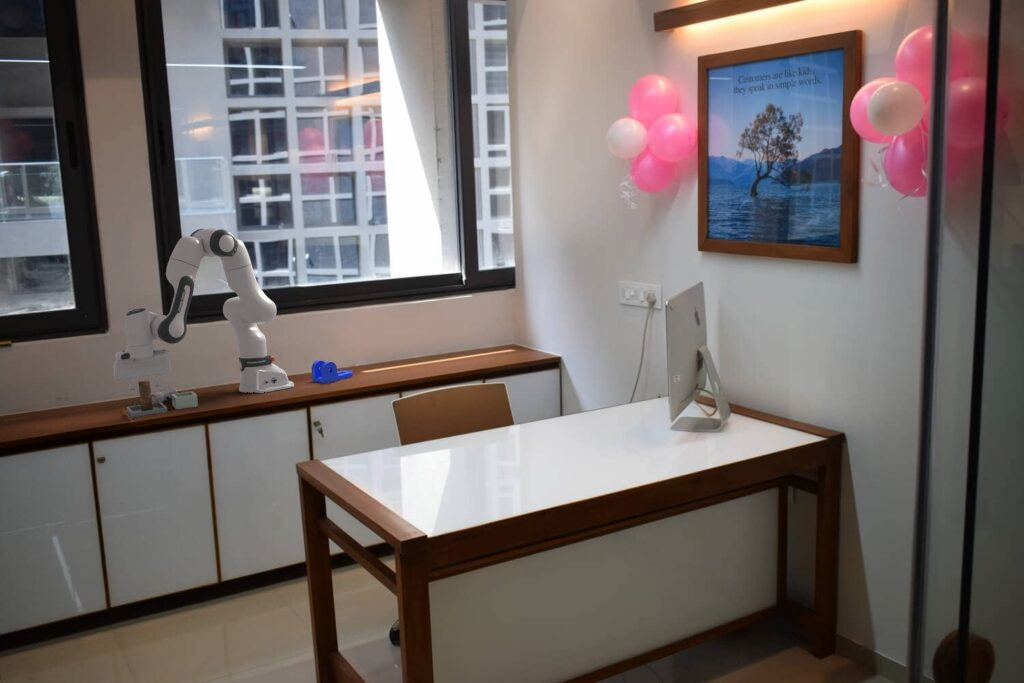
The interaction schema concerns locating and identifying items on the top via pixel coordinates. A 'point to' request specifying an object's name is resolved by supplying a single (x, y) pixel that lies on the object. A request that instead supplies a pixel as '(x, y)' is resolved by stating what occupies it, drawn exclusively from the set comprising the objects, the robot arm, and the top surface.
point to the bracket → (328, 372)
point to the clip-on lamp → (163, 396)
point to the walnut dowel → (145, 395)
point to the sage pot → (184, 400)
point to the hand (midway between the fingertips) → (144, 388)
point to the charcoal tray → (136, 411)
